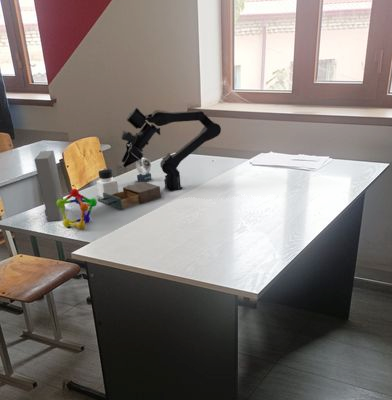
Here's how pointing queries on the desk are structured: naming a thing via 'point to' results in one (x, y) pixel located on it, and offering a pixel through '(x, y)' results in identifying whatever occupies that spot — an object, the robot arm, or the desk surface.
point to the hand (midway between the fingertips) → (123, 164)
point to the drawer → (116, 199)
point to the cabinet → (144, 191)
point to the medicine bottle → (106, 183)
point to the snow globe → (142, 176)
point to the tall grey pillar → (49, 184)
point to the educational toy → (83, 207)
